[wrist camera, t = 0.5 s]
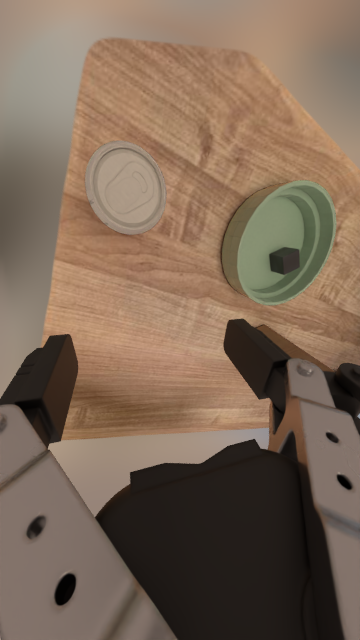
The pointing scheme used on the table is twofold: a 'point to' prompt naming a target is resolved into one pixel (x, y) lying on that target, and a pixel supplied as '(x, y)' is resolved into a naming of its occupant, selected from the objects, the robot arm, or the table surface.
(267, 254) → the bowl
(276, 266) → the block
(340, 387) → the robot arm
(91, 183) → the beer can
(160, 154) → the table surface
